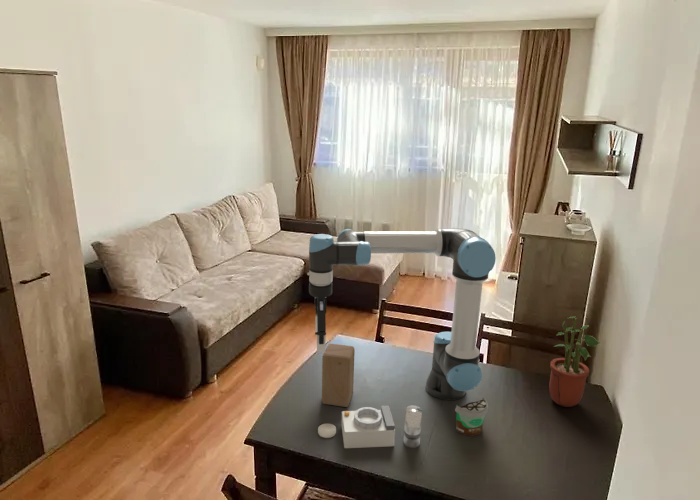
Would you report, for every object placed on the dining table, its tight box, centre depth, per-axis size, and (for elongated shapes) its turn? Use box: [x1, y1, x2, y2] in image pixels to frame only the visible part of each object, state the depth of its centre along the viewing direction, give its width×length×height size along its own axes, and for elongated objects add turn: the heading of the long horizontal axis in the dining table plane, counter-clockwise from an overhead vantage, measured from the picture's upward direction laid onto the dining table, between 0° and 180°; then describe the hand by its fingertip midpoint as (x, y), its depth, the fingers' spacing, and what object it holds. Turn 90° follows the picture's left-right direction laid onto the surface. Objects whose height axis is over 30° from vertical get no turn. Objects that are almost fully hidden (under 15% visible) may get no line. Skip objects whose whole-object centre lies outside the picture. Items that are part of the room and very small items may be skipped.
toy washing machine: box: [340, 405, 396, 449], centre depth 163 cm, size 16×11×8 cm
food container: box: [454, 397, 489, 437], centre depth 166 cm, size 12×6×10 cm, turn 117°
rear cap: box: [317, 422, 337, 439], centre depth 165 cm, size 6×6×2 cm
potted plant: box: [548, 315, 601, 408], centre depth 183 cm, size 17×16×35 cm
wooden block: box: [321, 343, 356, 408], centre depth 181 cm, size 10×10×20 cm
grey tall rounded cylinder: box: [403, 404, 423, 448], centre depth 160 cm, size 5×5×12 cm
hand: (320, 342), depth 166 cm, fingers open, 13 cm apart
